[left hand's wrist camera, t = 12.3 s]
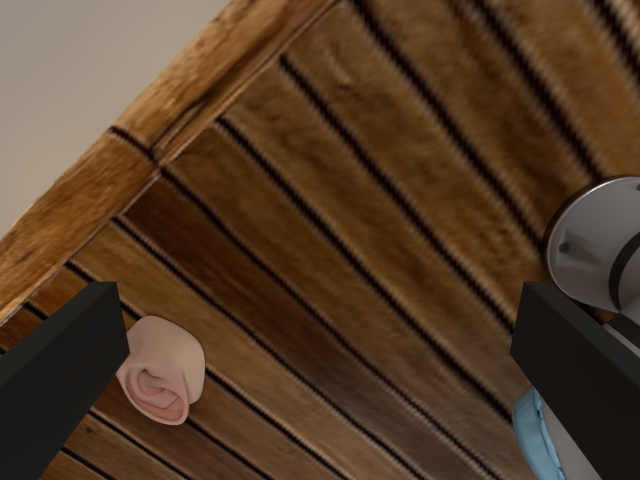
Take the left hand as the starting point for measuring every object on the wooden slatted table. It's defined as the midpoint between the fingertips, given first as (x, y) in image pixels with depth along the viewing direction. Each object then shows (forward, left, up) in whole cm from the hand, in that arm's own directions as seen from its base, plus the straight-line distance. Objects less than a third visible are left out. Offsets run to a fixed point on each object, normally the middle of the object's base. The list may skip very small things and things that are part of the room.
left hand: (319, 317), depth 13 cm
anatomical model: (-4, +33, -31) cm, 46 cm away
